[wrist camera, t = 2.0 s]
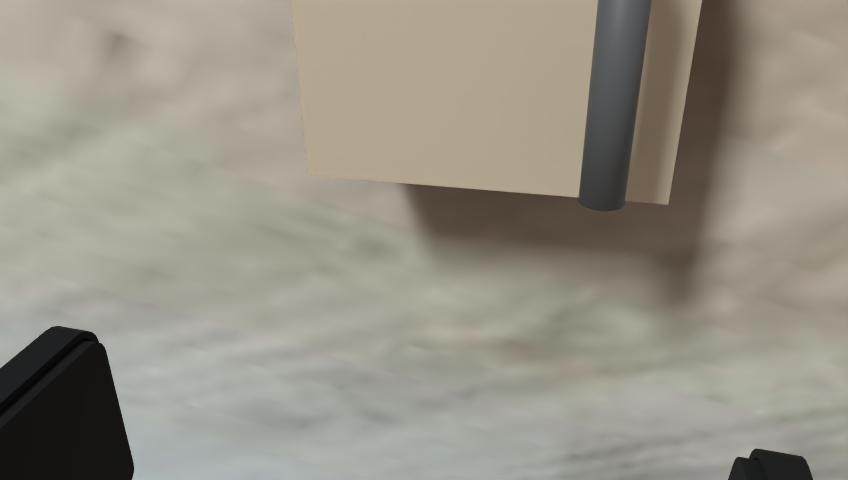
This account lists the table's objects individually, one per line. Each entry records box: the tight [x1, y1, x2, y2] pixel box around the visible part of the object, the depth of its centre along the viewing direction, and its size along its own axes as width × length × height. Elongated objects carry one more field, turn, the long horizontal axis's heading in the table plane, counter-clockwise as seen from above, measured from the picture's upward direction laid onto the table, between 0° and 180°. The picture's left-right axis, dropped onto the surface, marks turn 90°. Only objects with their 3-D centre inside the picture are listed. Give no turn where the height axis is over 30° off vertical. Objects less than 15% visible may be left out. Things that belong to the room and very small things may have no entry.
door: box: [290, 0, 702, 211], centre depth 22 cm, size 14×12×6 cm
